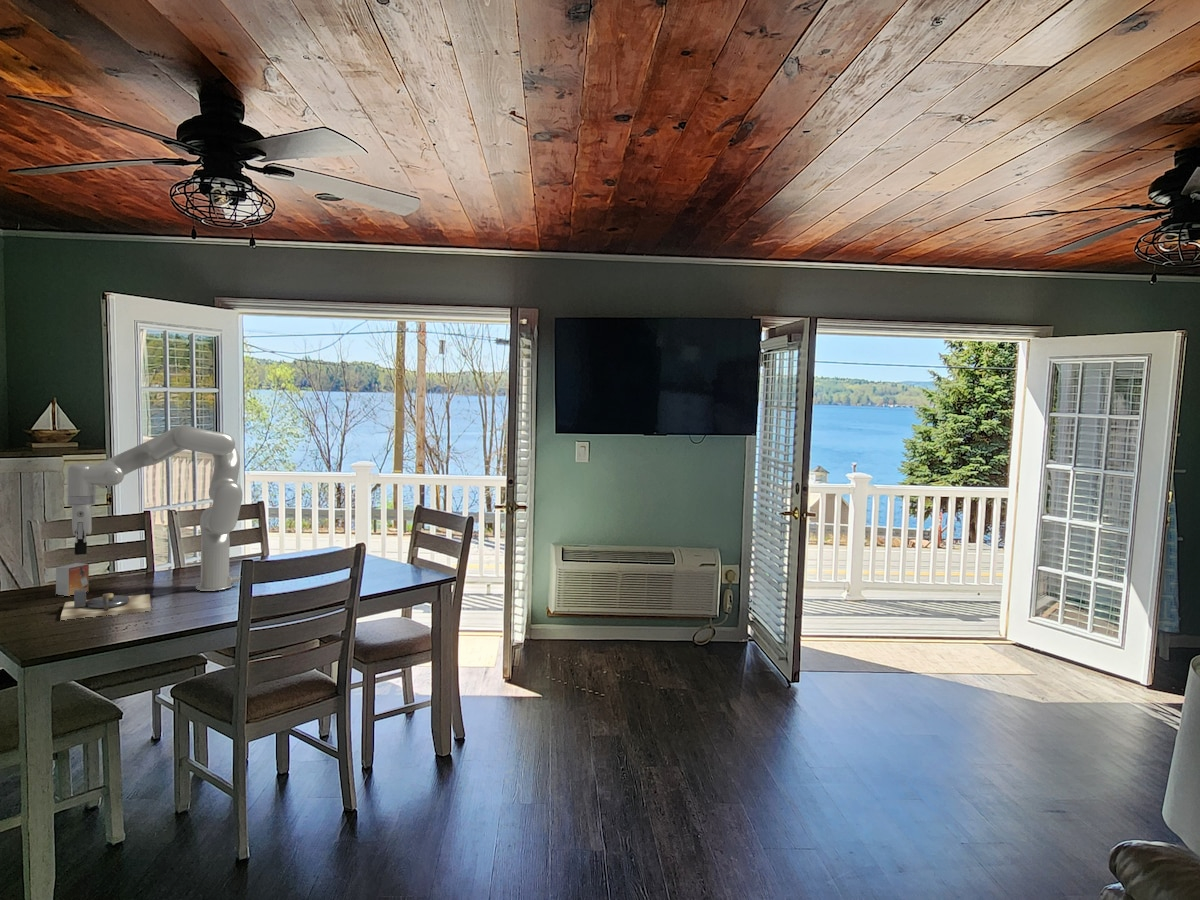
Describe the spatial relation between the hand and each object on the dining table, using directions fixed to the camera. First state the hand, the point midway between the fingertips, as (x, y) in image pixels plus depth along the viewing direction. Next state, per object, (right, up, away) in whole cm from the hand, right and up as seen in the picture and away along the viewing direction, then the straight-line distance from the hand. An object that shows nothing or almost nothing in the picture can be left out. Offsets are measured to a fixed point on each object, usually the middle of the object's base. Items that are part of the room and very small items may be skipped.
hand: (80, 553), depth 233 cm
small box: (-14, -17, +14) cm, 26 cm away
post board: (+10, -19, -1) cm, 21 cm away
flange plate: (+9, -16, -2) cm, 19 cm away
